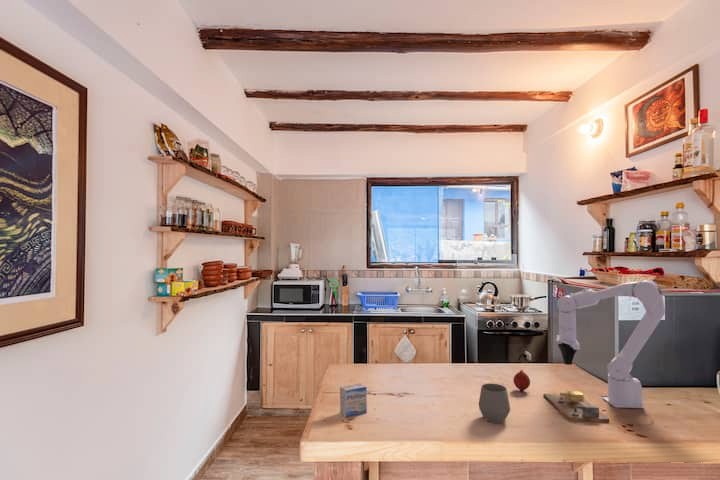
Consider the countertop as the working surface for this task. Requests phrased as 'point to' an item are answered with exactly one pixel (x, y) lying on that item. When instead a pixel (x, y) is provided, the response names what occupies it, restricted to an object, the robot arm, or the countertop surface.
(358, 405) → the medicine box
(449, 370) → the countertop surface
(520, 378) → the onion
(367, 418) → the countertop surface
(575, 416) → the gauge board
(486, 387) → the cup
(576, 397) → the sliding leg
